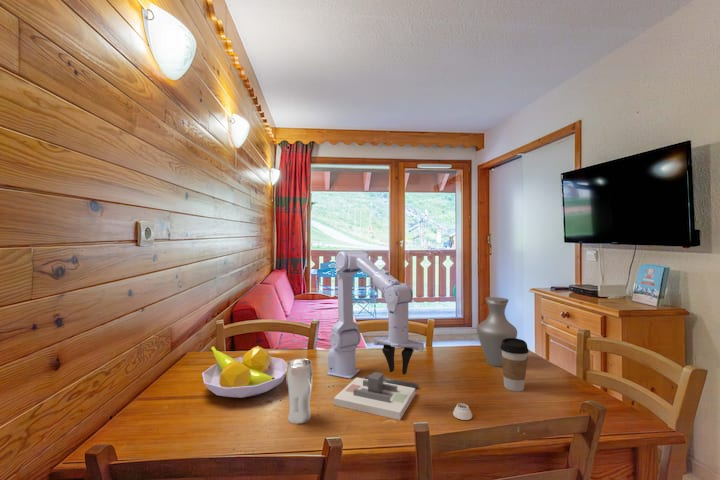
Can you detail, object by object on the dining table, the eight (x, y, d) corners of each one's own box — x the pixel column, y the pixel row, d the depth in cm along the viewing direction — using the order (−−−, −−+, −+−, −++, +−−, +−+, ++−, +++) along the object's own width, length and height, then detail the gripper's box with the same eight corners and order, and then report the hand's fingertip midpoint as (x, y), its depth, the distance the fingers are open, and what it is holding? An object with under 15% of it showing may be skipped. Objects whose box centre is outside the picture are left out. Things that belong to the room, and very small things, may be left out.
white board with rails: (333, 404, 99) (333, 392, 99) (362, 377, 119) (362, 367, 119) (399, 420, 91) (399, 407, 91) (419, 387, 111) (419, 376, 111)
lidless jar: (459, 422, 90) (475, 419, 92) (459, 411, 90) (476, 409, 92) (449, 413, 95) (465, 410, 97) (449, 402, 95) (465, 400, 97)
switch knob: (368, 394, 101) (368, 377, 101) (374, 388, 105) (374, 372, 105) (377, 396, 100) (377, 379, 100) (383, 389, 104) (383, 373, 104)
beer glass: (317, 413, 94) (317, 359, 94) (304, 427, 88) (304, 369, 88) (294, 409, 97) (294, 356, 96) (281, 422, 90) (281, 365, 90)
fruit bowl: (305, 386, 112) (305, 351, 112) (224, 418, 92) (224, 376, 92) (259, 364, 131) (259, 334, 131) (184, 387, 111) (184, 352, 111)
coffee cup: (528, 384, 113) (528, 339, 113) (528, 395, 106) (529, 347, 105) (500, 380, 117) (500, 336, 117) (499, 390, 109) (499, 343, 109)
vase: (482, 354, 142) (483, 294, 142) (520, 362, 133) (521, 298, 133) (471, 365, 130) (472, 299, 130) (512, 374, 122) (512, 304, 121)
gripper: (370, 326, 99) (369, 373, 99) (419, 332, 93) (419, 381, 93) (378, 320, 105) (378, 364, 105) (425, 325, 99) (425, 372, 100)
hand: (398, 372), depth 100 cm, fingers open, 3 cm apart
